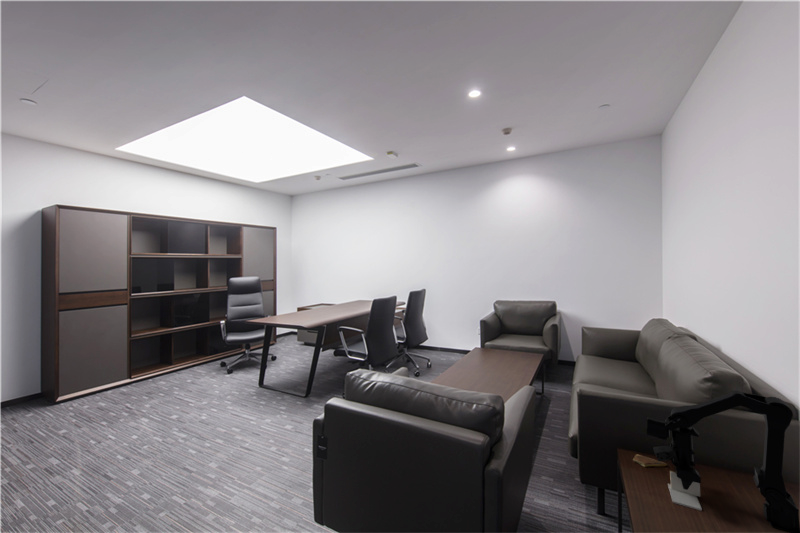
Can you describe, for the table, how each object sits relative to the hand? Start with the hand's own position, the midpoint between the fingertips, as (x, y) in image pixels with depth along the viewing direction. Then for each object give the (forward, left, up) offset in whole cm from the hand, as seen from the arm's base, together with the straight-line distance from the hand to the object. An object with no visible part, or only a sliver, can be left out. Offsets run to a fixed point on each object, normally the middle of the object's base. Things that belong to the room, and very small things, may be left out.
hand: (684, 486), depth 116 cm
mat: (+1, +3, -2) cm, 4 cm away
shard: (+9, -18, -3) cm, 20 cm away
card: (0, 0, -2) cm, 2 cm away
